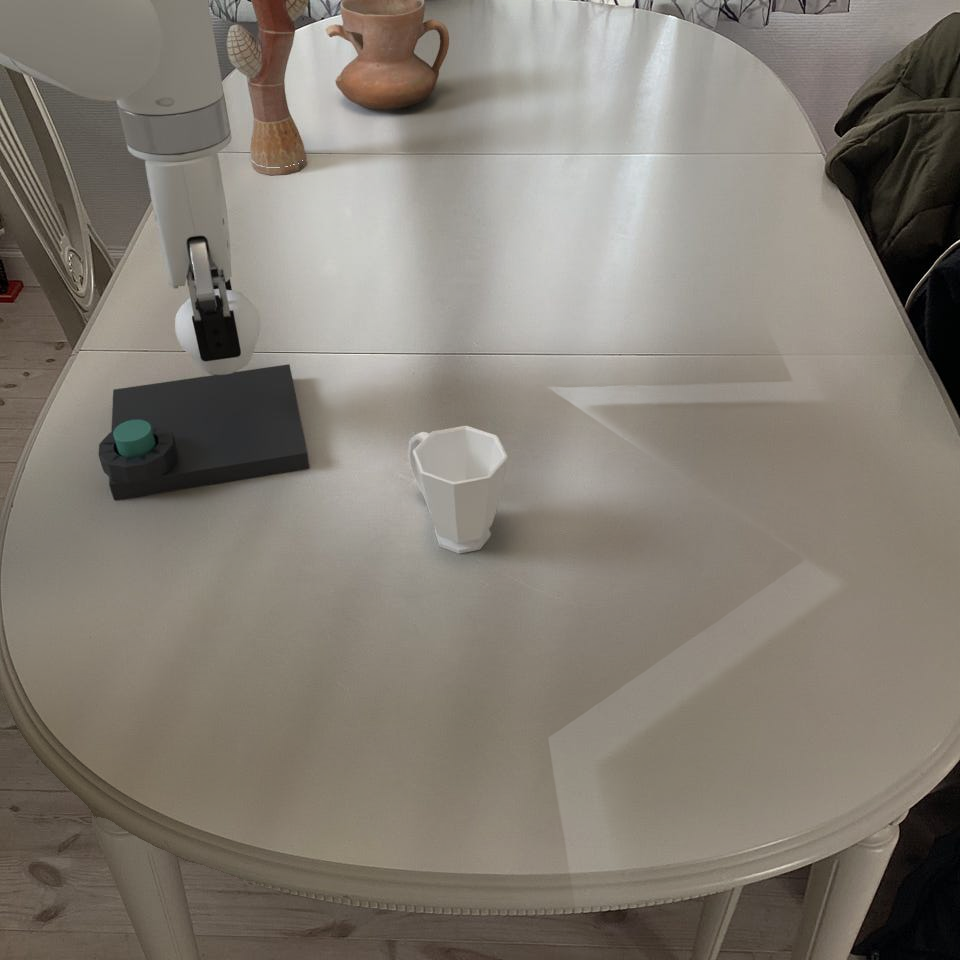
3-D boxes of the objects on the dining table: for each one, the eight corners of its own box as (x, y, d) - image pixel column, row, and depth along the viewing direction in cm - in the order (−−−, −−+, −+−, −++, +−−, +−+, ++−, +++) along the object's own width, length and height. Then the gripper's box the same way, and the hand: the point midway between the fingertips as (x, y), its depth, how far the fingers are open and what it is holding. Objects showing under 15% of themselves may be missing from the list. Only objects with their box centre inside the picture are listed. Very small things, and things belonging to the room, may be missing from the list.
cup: (453, 579, 76) (450, 497, 70) (378, 510, 82) (370, 430, 77) (526, 538, 79) (527, 457, 74) (448, 475, 85) (445, 396, 80)
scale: (108, 504, 83) (97, 471, 80) (112, 405, 93) (103, 373, 91) (310, 471, 86) (305, 438, 83) (291, 379, 96) (286, 347, 94)
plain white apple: (178, 389, 84) (158, 304, 79) (190, 343, 90) (171, 261, 85) (263, 384, 85) (248, 299, 80) (270, 339, 90) (256, 257, 85)
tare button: (117, 461, 82) (112, 443, 81) (118, 439, 84) (113, 422, 83) (155, 455, 82) (151, 437, 81) (155, 433, 85) (151, 416, 84)
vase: (244, 176, 133) (201, -81, 114) (252, 154, 139) (213, -94, 120) (324, 174, 134) (295, -82, 114) (329, 152, 139) (302, -95, 120)
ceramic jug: (335, 122, 148) (324, 18, 139) (331, 88, 159) (321, -9, 150) (457, 114, 150) (455, 11, 141) (445, 81, 161) (442, -16, 152)
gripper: (125, 88, 80) (171, 289, 91) (120, 175, 67) (175, 396, 78) (221, 80, 81) (255, 278, 93) (236, 162, 68) (273, 382, 80)
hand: (218, 331), depth 85 cm, fingers closed on plain white apple, 7 cm apart
